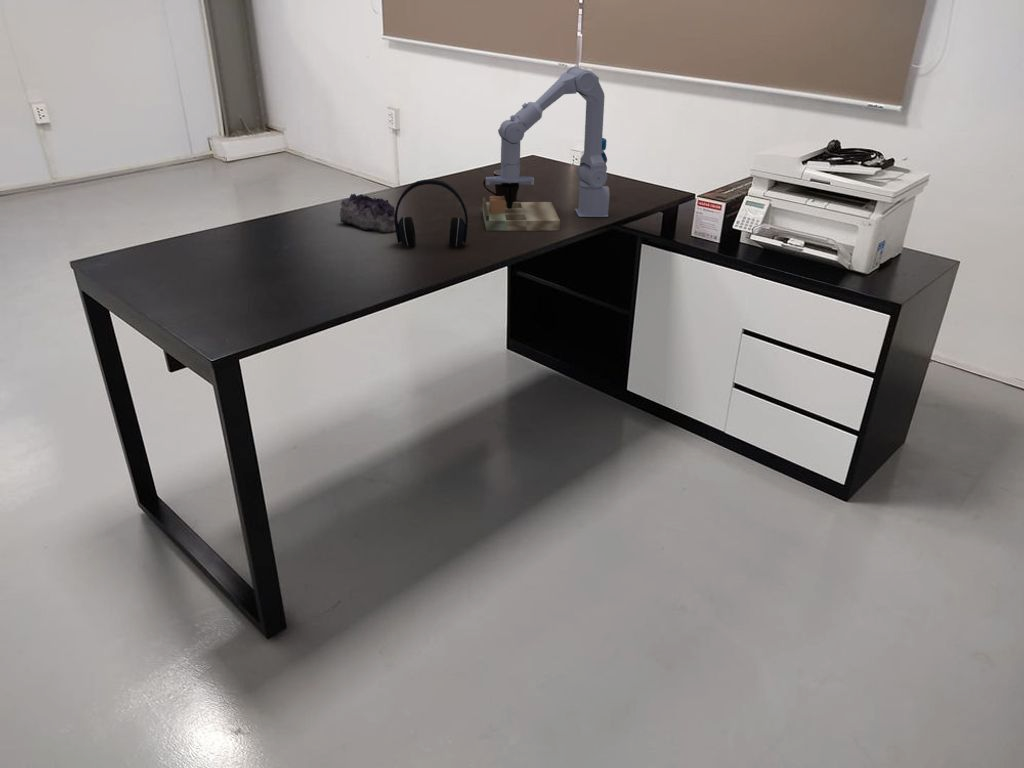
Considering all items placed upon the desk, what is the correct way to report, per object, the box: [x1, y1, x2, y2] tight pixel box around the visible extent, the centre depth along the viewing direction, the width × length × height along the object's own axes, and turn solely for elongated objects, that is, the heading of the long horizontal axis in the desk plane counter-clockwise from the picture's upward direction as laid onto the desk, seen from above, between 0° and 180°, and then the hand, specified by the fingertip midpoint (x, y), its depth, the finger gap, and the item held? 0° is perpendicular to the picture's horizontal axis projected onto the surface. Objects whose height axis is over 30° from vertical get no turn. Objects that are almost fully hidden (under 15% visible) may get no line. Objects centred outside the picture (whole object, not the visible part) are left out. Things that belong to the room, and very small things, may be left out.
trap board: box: [482, 197, 561, 232], centre depth 237 cm, size 22×20×4 cm
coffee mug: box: [482, 169, 519, 202], centre depth 253 cm, size 12×9×10 cm
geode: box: [339, 193, 396, 235], centre depth 228 cm, size 20×12×10 cm, turn 55°
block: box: [489, 195, 506, 213], centre depth 235 cm, size 4×4×4 cm
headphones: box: [394, 178, 469, 248], centre depth 211 cm, size 20×7×18 cm, turn 93°
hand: (509, 207), depth 236 cm, fingers closed
